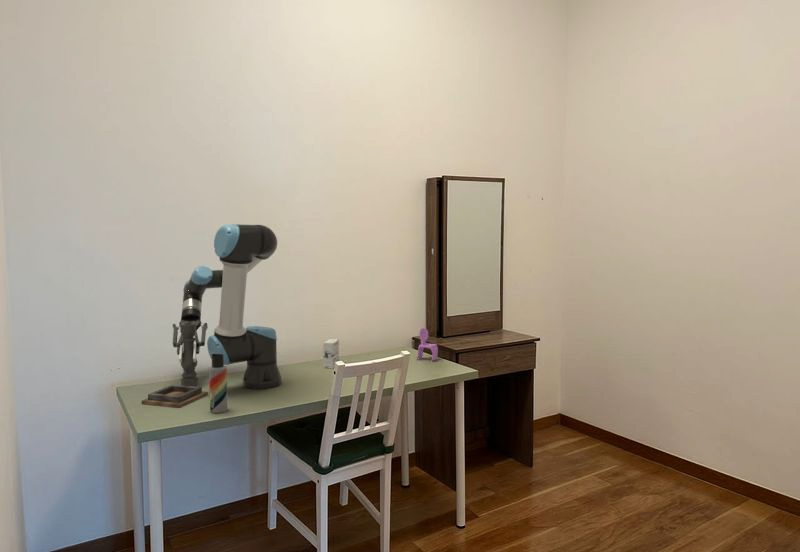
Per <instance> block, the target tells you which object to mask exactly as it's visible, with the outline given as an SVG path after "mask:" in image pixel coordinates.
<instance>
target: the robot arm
mask: <svg viewBox="0 0 800 552" xmlns="http://www.w3.org/2000/svg"><path fill="white" fill-rule="evenodd" d="M277 247H278V238H277V235H276V234H275V232H273V230H272V229H271V228H269V227H268V226H266V225H263V224H240V223H239V224H236V223H233V224H224V225H222V226H221V227H219V228H218V230H217V231H216V233H215V236H214V240H213V248H214V253H215V255H216V256H217V257H219V262H221V263H222V264H223V265H222V269H213V270H212V269H211V268H209V267H208V266H204V265H198V266H197V267H195V268H194V270H193V271H192V272H191V275H190V278H189V279H188V280H187V281H185V284H184V288H183V290H182V291H183V296H182V305H181V317H180V321H179V323H177V324H176V323H172V330H173V331H172V332H173V333H172V347H173V348H176V354H177V355H178V361H179V364H181V363H182V356H183V342H182V341H181V340H182V339H183V337H182V335H181V334H180V336H179V338H178V335H179V334H178V333H179V330H180V324H183V323H195V324H196V332H195V335H194V338H195V341H194V342H195V343H194V352H193V361H194V362H196V359H197V355H198V354H200V349H201V348H200V347H204V346H206V344H207V352H208V355H209V357H210V359H211V360H212V354H223V359H224V366H229V365H231V364H232V365H233V364H238V363H243V362H246V368H245V372H244V375H243V378H242V386H243V387H244V388H247V389H253V390H254V389H255V390H259V389H261V390H262V389H269V388H271V389H272V388H275V387H277V386H280V385H281V384H282V381H283V380H282V374H281V372H280V369H279V367H278V357H277V353H278V352H277V349H278V348H277V340H278V338H277V332H276V329H275V328H272V327H268V326H259V325H257V326H256V325H255V326H254V325H250V326H247V327H246V328H245V326H244V325H243V324H244V314H245V301H246V289H247V277H248V273H249V272H251V271H252V270H253V269H254V268H255V267H257V265H258V264H260V263H261V262H262V261H264V260H268V259H269V258H270V257H272V256H273V254H275V251H277ZM219 288H220V289H221V291H220V292H221V293H220V306H219V309H220V310H219V321H218V322H219V323H218V325H217V326H216V327H215V328H214V329H213V330H214V332H213V334H212V335H210V336H208V338H207V343H206V336H207V335H206V333H207V330H208V323H207V322H202V321H201V317H202V302H203V295H204V293H205V292H206V290H207V289H219ZM188 290H189V291H188ZM200 327H201V337H200V340H199V337H198V336H199V335H198V332H197V330H198V329H200Z"/></svg>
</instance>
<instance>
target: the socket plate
mask: <svg viewBox="0 0 800 552" xmlns="http://www.w3.org/2000/svg"><path fill="white" fill-rule="evenodd" d="M208 395H209V392H208V391H203V389H202V386H201V387H200V386H197V387H192V386H181V385H178V384H170V385H168V386H165V387H163V388H161V389H158V390H156V391H154V392H149V393H147V398H144V399H142V400H141V405H146V404H151V405H150V406H156V405H159V406H158V407H166V406H167V408H178V409H180V408H183V407H185V406H187V405H189V404H191V403H193V402H195V401H197V400H198V401H199V400H200V399H203V398H204V397H207V396H208Z"/></svg>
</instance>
